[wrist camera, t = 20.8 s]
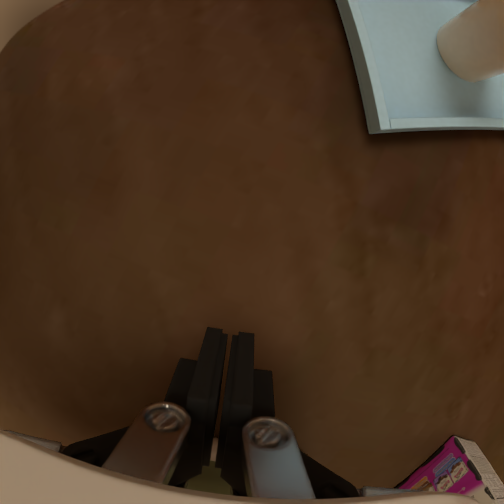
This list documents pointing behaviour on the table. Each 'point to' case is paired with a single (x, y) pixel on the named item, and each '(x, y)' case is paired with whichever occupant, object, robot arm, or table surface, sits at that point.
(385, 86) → the tray
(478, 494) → the candy bar box
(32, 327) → the table surface
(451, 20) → the spice pot
